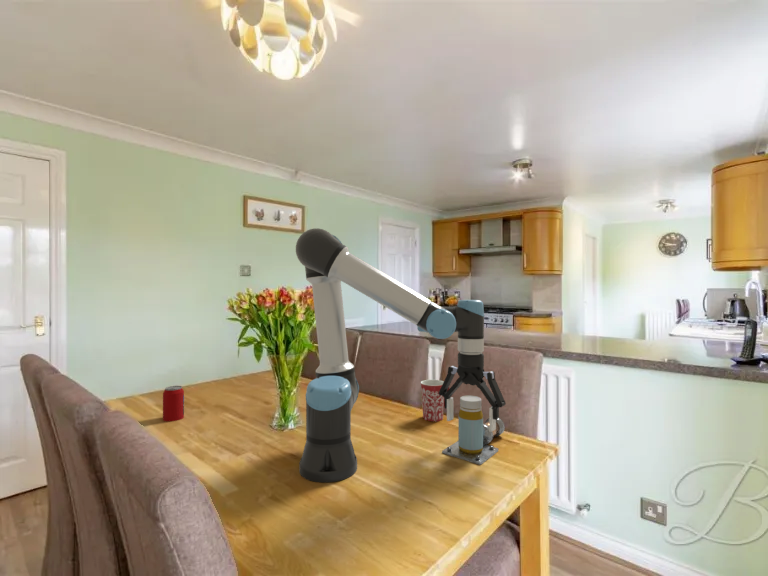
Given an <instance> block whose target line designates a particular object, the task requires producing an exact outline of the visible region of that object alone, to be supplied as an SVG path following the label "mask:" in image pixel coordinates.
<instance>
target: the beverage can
mask: <svg viewBox="0 0 768 576" xmlns="http://www.w3.org/2000/svg"><path fill="white" fill-rule="evenodd" d="M184 417H185V391H184V389H183V387H182V385H173V386H172V385H169V386H166V387H165V388H164V391H163V393H162V421H163V422H166V423H167V422H176V421H180V420H182V419H184Z"/></svg>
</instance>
